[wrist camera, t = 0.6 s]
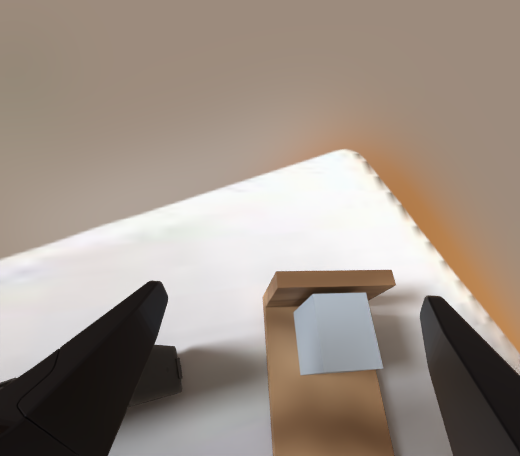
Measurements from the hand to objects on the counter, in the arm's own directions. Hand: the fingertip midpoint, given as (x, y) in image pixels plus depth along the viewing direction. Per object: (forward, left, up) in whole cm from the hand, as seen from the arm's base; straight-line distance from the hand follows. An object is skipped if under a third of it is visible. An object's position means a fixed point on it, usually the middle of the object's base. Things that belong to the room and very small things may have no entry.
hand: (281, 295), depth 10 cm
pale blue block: (0, -7, -16) cm, 17 cm away
